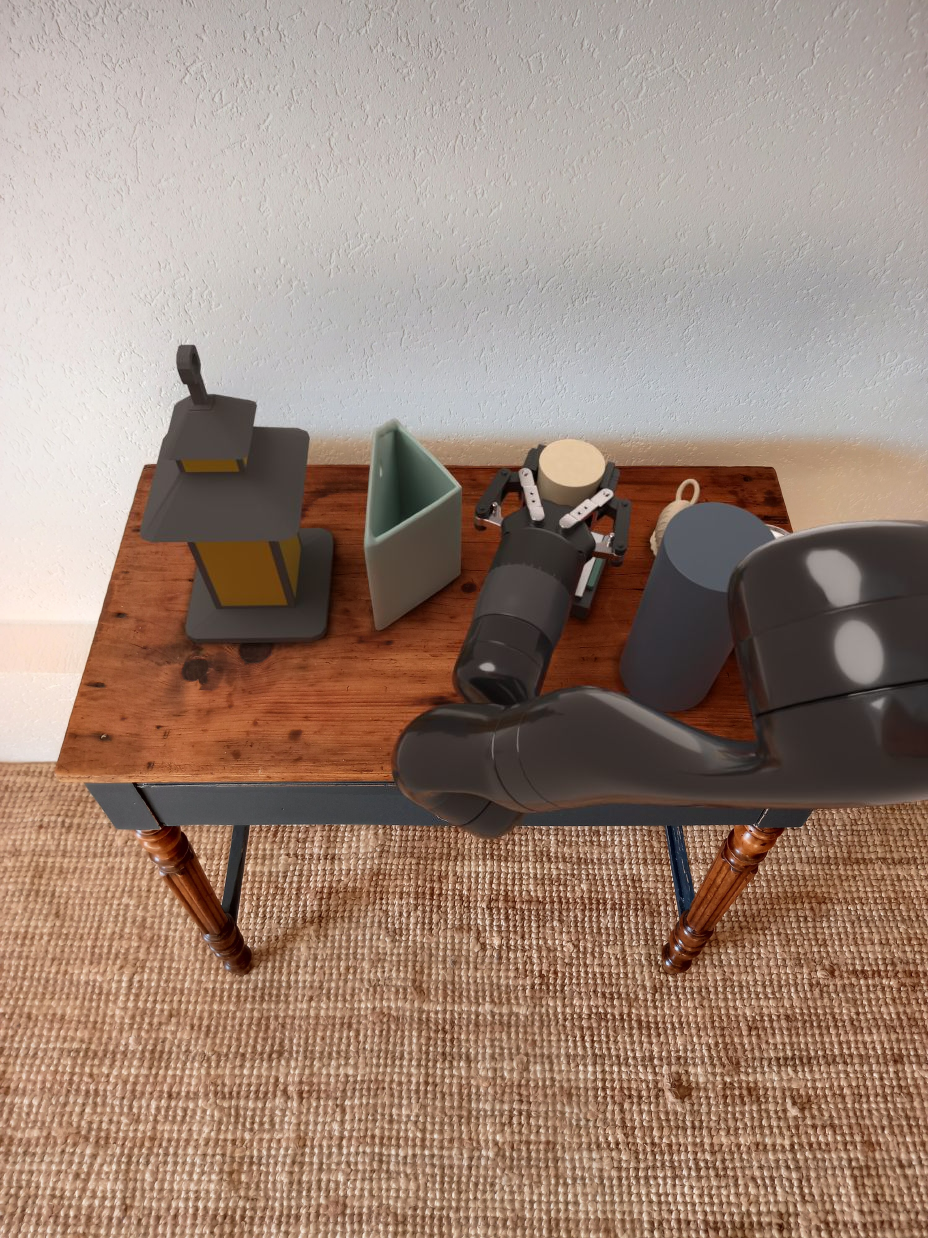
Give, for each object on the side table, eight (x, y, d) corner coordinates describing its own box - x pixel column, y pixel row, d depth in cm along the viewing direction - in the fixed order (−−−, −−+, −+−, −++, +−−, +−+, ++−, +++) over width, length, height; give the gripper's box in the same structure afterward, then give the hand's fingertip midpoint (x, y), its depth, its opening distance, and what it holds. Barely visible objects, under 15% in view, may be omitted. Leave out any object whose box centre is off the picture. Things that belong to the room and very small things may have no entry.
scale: (610, 549, 88) (614, 533, 85) (585, 620, 83) (589, 605, 80) (523, 524, 90) (525, 507, 87) (494, 592, 84) (495, 576, 82)
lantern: (185, 643, 80) (64, 417, 55) (206, 534, 88) (108, 292, 63) (325, 641, 81) (269, 415, 56) (334, 533, 88) (288, 291, 63)
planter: (452, 638, 81) (452, 508, 65) (374, 630, 82) (355, 500, 65) (468, 515, 90) (472, 374, 74) (398, 509, 91) (387, 367, 74)
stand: (718, 649, 81) (787, 520, 64) (701, 724, 76) (770, 606, 60) (631, 622, 83) (677, 489, 66) (609, 694, 78) (652, 571, 61)
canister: (597, 514, 81) (613, 449, 73) (580, 557, 78) (594, 494, 70) (541, 497, 82) (551, 431, 74) (522, 539, 79) (530, 475, 71)
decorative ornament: (639, 554, 87) (649, 522, 83) (671, 506, 91) (683, 473, 87) (673, 571, 86) (685, 539, 82) (704, 521, 90) (718, 488, 86)
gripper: (619, 594, 62) (660, 448, 71) (444, 546, 64) (505, 410, 73) (603, 645, 68) (642, 505, 77) (444, 599, 71) (500, 468, 80)
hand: (575, 459), depth 75 cm, fingers closed on canister, 6 cm apart
